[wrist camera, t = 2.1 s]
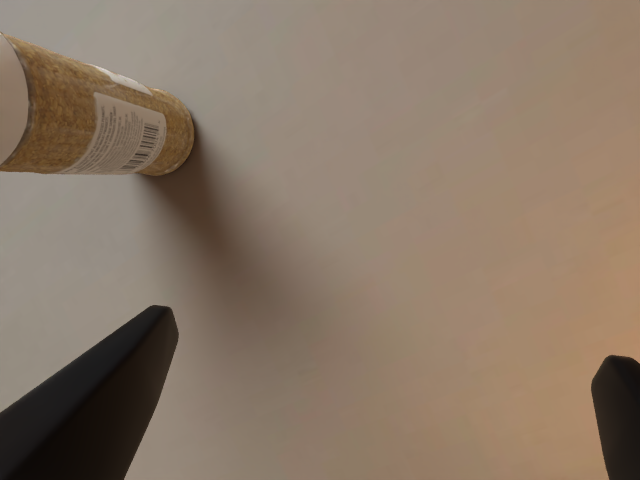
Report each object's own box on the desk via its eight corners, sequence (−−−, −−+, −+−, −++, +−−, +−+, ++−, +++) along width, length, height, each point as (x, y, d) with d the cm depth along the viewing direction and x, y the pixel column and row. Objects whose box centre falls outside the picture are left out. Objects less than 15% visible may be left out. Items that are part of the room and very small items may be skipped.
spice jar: (161, 72, 24) (-118, -63, 10) (214, 142, 24) (6, 97, 10) (100, 127, 24) (-228, 68, 11) (152, 194, 25) (-113, 213, 11)
